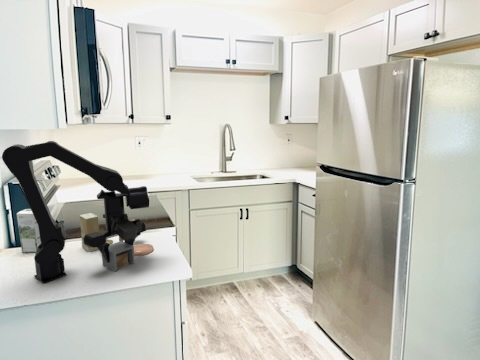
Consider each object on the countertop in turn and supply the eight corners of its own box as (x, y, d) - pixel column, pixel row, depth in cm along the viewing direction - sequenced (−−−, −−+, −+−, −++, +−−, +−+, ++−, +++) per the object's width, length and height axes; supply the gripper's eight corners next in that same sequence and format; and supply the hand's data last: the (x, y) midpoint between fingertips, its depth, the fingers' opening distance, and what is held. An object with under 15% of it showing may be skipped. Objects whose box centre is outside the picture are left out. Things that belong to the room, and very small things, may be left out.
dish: (137, 258, 114) (137, 255, 114) (121, 251, 120) (121, 249, 120) (158, 249, 121) (158, 247, 121) (142, 244, 127) (142, 241, 127)
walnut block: (117, 268, 107) (116, 256, 106) (109, 265, 109) (108, 253, 109) (128, 264, 110) (127, 252, 109) (120, 261, 112) (120, 249, 112)
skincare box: (81, 247, 124) (78, 214, 122) (93, 244, 127) (91, 212, 125) (88, 252, 119) (85, 218, 117) (101, 249, 122) (98, 215, 120)
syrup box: (46, 246, 125) (42, 207, 122) (38, 253, 119) (32, 212, 117) (30, 246, 125) (25, 208, 122) (21, 253, 119) (15, 212, 116)
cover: (115, 271, 105) (113, 253, 104) (102, 265, 109) (101, 247, 108) (135, 263, 110) (133, 245, 109) (122, 258, 114) (120, 241, 113)
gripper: (101, 223, 94) (105, 276, 97) (155, 208, 109) (158, 255, 112) (80, 216, 101) (85, 266, 104) (134, 203, 115) (137, 247, 118)
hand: (118, 258), depth 109 cm, fingers closed on cover, 7 cm apart
